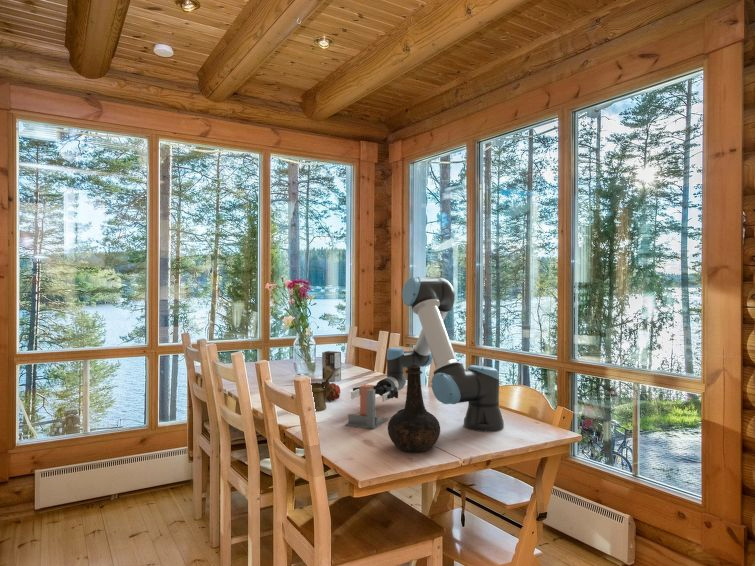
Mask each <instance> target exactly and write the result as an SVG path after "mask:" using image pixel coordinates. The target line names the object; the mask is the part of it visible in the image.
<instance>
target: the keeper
mask: <svg viewBox="0 0 755 566" xmlns="http://www.w3.org/2000/svg"><path fill="white" fill-rule="evenodd" d="M347 417H348V422H345V426H346V427H351V428H352V427H354V428H359V427H360V429H367V430H368V429H370V430H375V429H376V428H378V427H379V426H381V425H382V424H384V423H386V422H387V421H388V420H389V419H388V417H383V416H382V417H381V416H377V411H376V394H375V389H368V390H367V415H360V409H359V410H358V414H356V413H349V414H348V415H347Z"/></svg>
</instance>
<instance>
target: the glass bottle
mask: <svg viewBox="0 0 755 566" xmlns="http://www.w3.org/2000/svg"><path fill="white" fill-rule="evenodd" d="M404 373H406V374H407V378H406V384H407V385H406V397H405V404H404V408H402V409H399V410H398V411H397V412H396V413H395V414H393V415H392V416H391V417H390V419H389V421H388V423H387V433H388V436H389V439H390V441H391V442H392V443H393V445H395V447H396V448H398V449H400V450H401V451H404V452H409V453H421V452H425V451H427V450H429V449H431V448H433V447H434V445H436V443H437V442H438V440H439V438H440V435H441V426H440V422H439V420H438V419H437V418H436V416H435V415H434V414H432V413H430V412H428V410H427V409H426V407H425V403H424V398H423V391H422V390H423V389H422V381H421V380H422V379H421V375H422V374H423V371H422V370H421V367H420V366H418V365H408V366H407V368H406V370H405V371H404Z"/></svg>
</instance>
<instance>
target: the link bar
mask: <svg viewBox="0 0 755 566" xmlns="http://www.w3.org/2000/svg"><path fill="white" fill-rule="evenodd" d="M374 386H375V385H374V384H362V385H360V386H359V387H360V396H359V397H360V398H359V401H360V402H359V404H360V405H359V408H360V409H359V410H360V415H367V390H368V389H374Z"/></svg>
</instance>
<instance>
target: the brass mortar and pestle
mask: <svg viewBox="0 0 755 566" xmlns="http://www.w3.org/2000/svg"><path fill="white" fill-rule="evenodd" d="M335 370H336V368H334V369H333V370H332V371H331V373H330V374H329V376H328V377H327V379H326V381H322V382H310V383H311V385H312V392H313V397H314V402H315V409H316V412H322V410H323V411H325V410H326V409H327V403H326V402H327V397H328V395H329V393H330V391H331V385H330V384H331V383H330V381H329V379H330V378H331V377H332V375H333V374H334V372H335ZM324 387H326V388H327V392H326V393H324V392H323V390H325V389H324Z"/></svg>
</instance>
